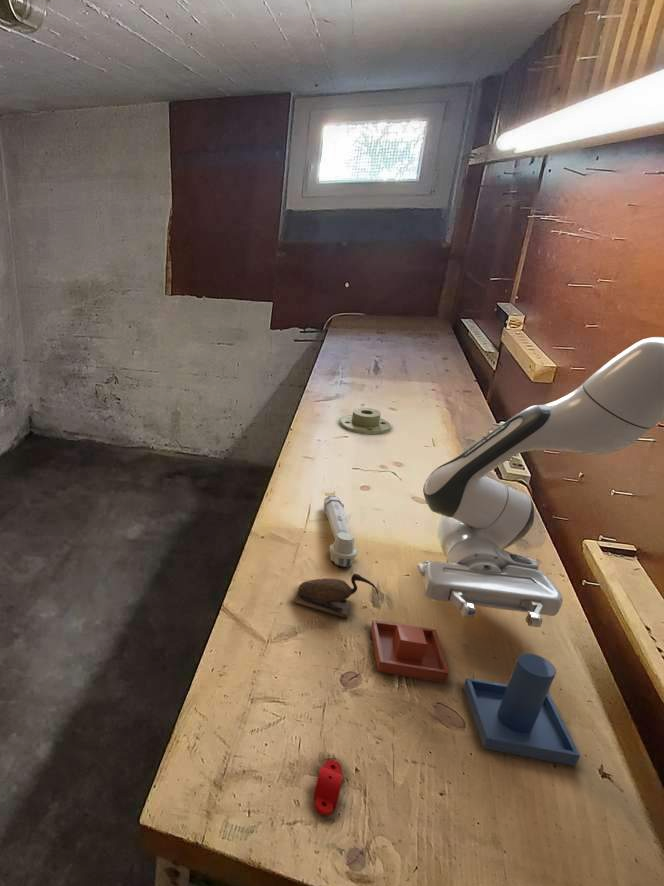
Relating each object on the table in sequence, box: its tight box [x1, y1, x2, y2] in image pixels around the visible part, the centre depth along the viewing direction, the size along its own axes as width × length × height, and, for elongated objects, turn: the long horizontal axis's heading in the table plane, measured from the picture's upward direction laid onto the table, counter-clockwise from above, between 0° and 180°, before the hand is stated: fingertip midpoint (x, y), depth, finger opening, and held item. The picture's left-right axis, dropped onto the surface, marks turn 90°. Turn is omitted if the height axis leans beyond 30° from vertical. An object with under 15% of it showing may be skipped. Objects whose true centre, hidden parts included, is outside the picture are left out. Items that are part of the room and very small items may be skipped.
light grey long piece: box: [323, 495, 358, 567], centre depth 127 cm, size 5×7×25 cm
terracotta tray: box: [370, 619, 450, 684], centre depth 95 cm, size 10×10×2 cm
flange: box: [340, 407, 391, 435], centre depth 185 cm, size 5×15×15 cm
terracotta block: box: [393, 623, 427, 662], centre depth 94 cm, size 4×4×4 cm
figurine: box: [293, 573, 379, 619], centre depth 105 cm, size 14×4×9 cm, turn 60°
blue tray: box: [462, 677, 581, 767], centre depth 82 cm, size 11×11×2 cm
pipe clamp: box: [313, 759, 344, 816], centre depth 74 cm, size 8×3×2 cm, turn 151°
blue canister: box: [497, 653, 557, 733], centre depth 80 cm, size 4×4×11 cm
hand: (502, 619), depth 90 cm, fingers open, 8 cm apart
